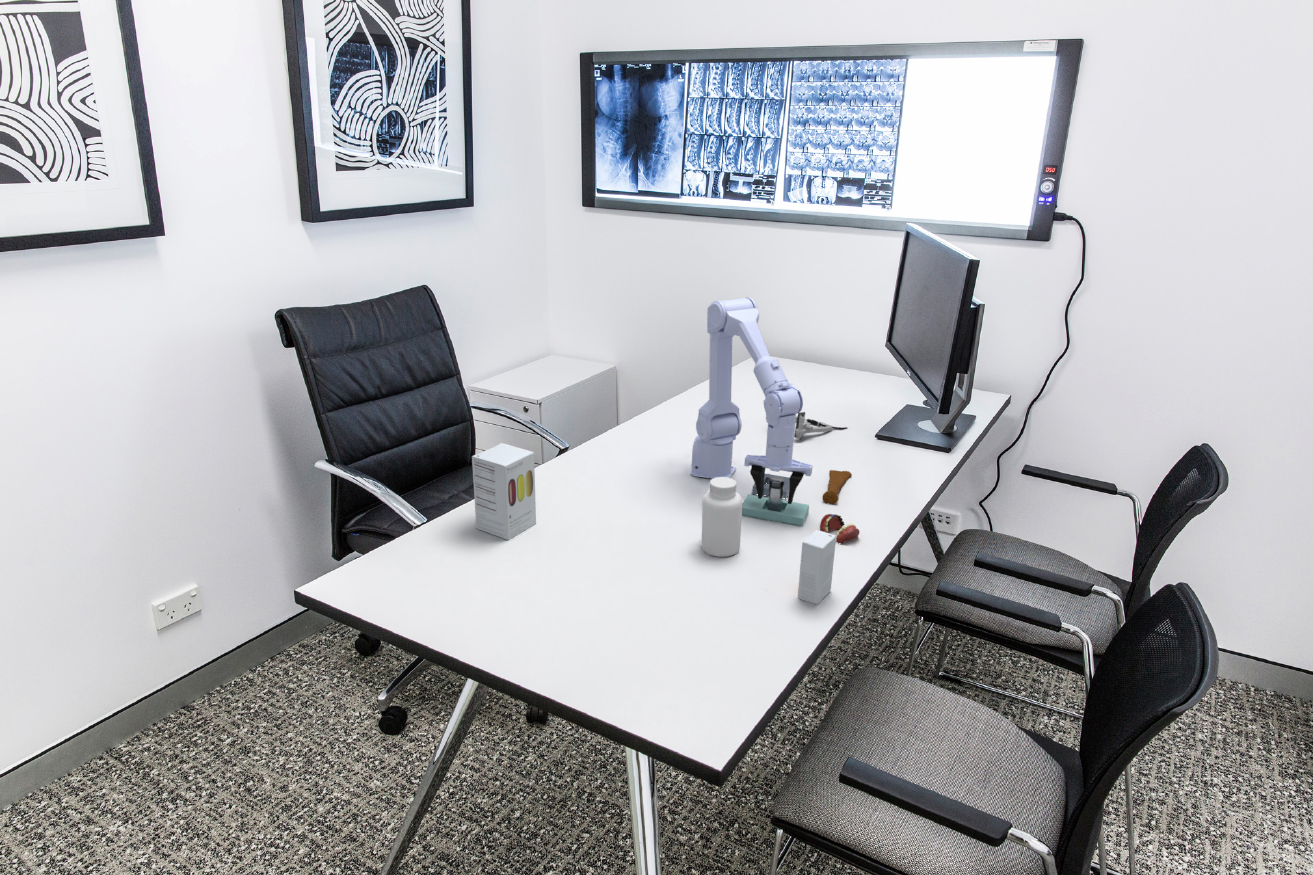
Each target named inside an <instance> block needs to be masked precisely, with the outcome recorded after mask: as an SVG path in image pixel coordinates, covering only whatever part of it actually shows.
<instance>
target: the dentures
mask: <svg viewBox="0 0 1313 875" xmlns="http://www.w3.org/2000/svg"><path fill="white" fill-rule="evenodd" d="M843 520H844V519H843V518H842V516H841V515H839V514H832V513H828V514H827V513H826V514H825V515H824V516H822V518H821V520H820V523H819V530H820V531H823V532H826V533H829V534H830V532H832V531H835V530H837V531H836V533H835V536H836V543H837V542H838V543H837V544H839V543H841V544H843V543H846V542H849V541H851V540H854V539H856V538H858V537H859V535H860V530H859V529H858V528H857V527H856V525H855V524H854V523H851V522H850V523H846V524H845V522H844V521H843ZM831 530H832V531H831Z"/></svg>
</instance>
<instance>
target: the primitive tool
mask: <svg viewBox="0 0 1313 875" xmlns="http://www.w3.org/2000/svg"><path fill="white" fill-rule="evenodd" d="M828 474H829V480H828V484H827V491H825V492H824V493H823V494H822V497H821V498H822V501H823V503H824V502H825V504H827V503H829V504H828V505H835V504H837V503H838V501H839V493H840V491H841V490H842V487H844V485H845V484H846V483H847V481H848V480H849V479H850V478H852V475H853V474H852V473H851V471H849V470H836V469H835V470H834V469H830V470H829V473H828Z"/></svg>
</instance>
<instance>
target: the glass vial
mask: <svg viewBox="0 0 1313 875" xmlns="http://www.w3.org/2000/svg"><path fill="white" fill-rule="evenodd" d="M783 491H784V479H783V478H781V477H771V478H770V480H769V494H768V497H767V498H768V507H767V510H771V511H777V512H782V503H783V500H784V499H783Z"/></svg>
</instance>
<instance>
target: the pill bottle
mask: <svg viewBox="0 0 1313 875" xmlns="http://www.w3.org/2000/svg"><path fill="white" fill-rule="evenodd" d="M737 484H738V483H737V481H736V480H735V479H733V478H731V477H730V478H728V477H716V478H713V479H710V481H709V490H708V491H707V492H706V493H705V494H704V495H703V498H702V511H701V512H702V513H701V549H702V550H703V551H704V553H707V554H708V555H710V556H713V557H720V558H721V557H724V558H725V557H730V556H731V557H732V556H733V555H735V554H738V552H739V551H740V549H741V548H740V547H741V536H742V535H741V533H742V519H743V518H742V517H743V516H742V503H743V498H742V496H741V495H740V494H739V493H738V492H737V486H738V485H737Z"/></svg>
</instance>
